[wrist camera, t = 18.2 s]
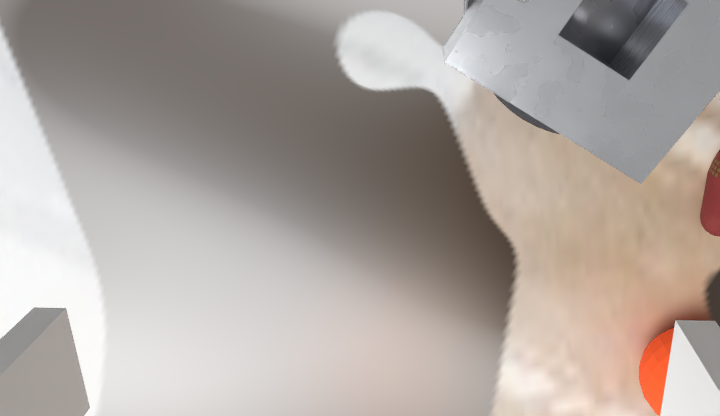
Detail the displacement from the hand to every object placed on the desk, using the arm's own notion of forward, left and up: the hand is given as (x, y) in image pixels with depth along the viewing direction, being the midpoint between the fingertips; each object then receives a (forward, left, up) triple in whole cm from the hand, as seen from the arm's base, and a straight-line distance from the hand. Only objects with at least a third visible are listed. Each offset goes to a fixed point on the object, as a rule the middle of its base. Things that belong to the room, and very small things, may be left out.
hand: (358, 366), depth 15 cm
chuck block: (+7, +9, -29) cm, 32 cm away
